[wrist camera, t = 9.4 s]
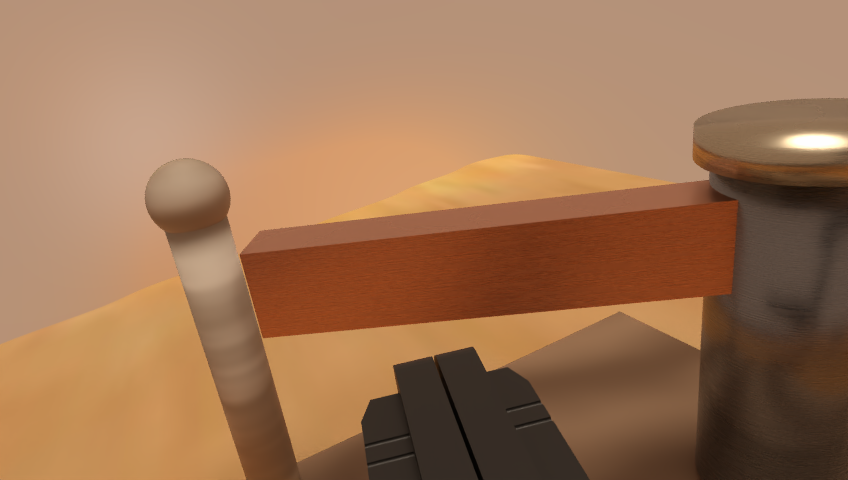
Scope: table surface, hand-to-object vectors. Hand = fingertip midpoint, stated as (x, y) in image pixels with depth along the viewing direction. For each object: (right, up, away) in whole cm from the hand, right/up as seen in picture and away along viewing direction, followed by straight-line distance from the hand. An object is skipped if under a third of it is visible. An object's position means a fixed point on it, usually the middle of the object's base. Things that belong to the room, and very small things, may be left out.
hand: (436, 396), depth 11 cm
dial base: (+7, -8, +10) cm, 15 cm away
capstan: (+6, -6, +11) cm, 14 cm away
